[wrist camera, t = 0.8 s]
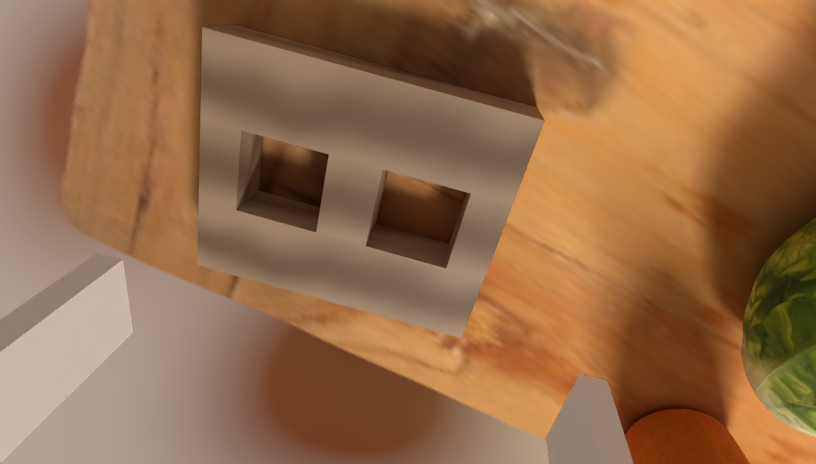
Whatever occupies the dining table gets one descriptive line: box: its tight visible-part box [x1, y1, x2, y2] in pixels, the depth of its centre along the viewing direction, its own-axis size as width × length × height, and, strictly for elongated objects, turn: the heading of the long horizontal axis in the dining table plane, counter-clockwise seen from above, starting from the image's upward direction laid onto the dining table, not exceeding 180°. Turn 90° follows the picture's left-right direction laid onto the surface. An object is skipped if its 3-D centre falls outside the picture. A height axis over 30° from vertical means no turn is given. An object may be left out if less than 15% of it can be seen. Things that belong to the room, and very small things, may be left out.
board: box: [197, 24, 545, 338], centre depth 34 cm, size 18×22×4 cm
